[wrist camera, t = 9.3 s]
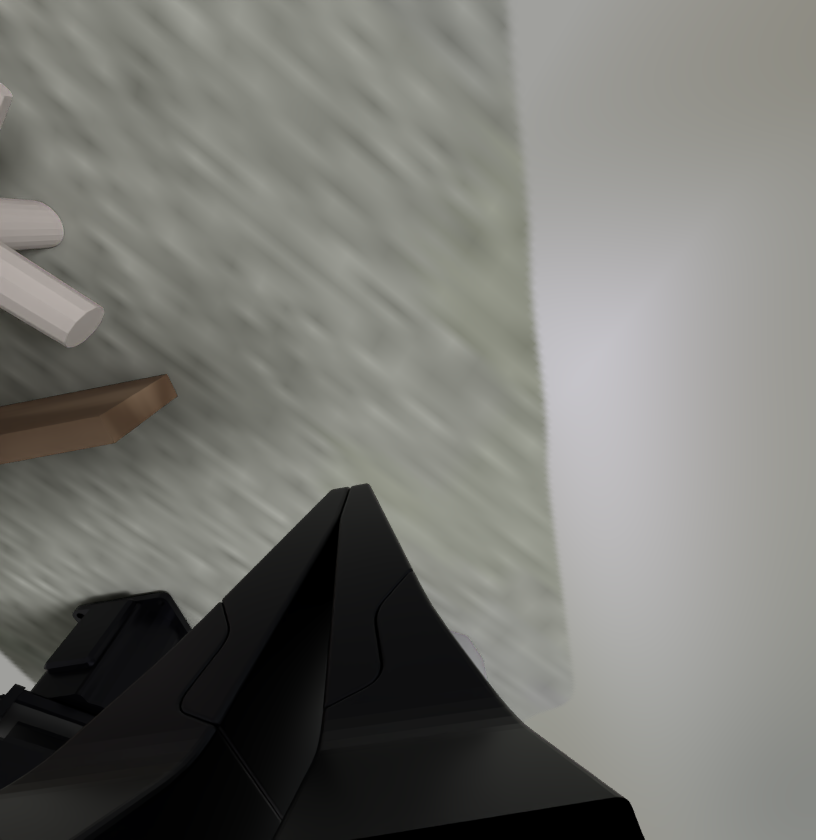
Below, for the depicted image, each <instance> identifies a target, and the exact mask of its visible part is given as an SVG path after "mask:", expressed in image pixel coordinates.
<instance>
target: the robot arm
mask: <svg viewBox="0 0 816 840" xmlns="http://www.w3.org/2000/svg"><path fill="white" fill-rule="evenodd" d="M222 602H223V603H222ZM222 602H219V603H218V604H217V605H216V606H215V607H214V608H213V609H212V610H211V611H210V612H209V613H208V614H207V615H206V616H205V617H204V618H203V619H202V620H201V621H200V622H199V623H198V624H197V625H196V626H195V627H194V628H193V629H191V627H190V626H189V624H188V623H187V621H186V619H185V618H184V616H183V615H182V613H181V612H180V610H179V608H178V607H177V605H176V604H175V602H174V600H173V599H172V597H171V596H170V595H169V594H167V593H164V592H160V593H154V594H148V595H142V596H136V597H130V598H124V599H118V600H112V601H106V602H100V603H93V604H87V605H81V606H78V608H77V609H76V610H75V611H74V612H73V617H74V618H75V620H76V621H77V622H78V624H77V625H76V626H75V628H74V629H73V630H72V631H71V633H70V634H69V635H68V636H67V637H66V639H65V640H64V641H63V642H62V644H61V645H60V646H59V647H58V649H57V650H56V651H55V652H54V653H53V655H52V656H51V657H50V658H49V660H48V661H47V662H46V664H45V666H44V669H45V670H46V672H45V674H44V675H43V676H42V677H41V679H40V680H39V681H38V682H37V684H36V685H35V686H34V688H33V689H32V690H31V691H27V690H24V689H25V687H23V686H20V685H17V684H15V685H14V686H13V687H12V688H11V689H10V690H9V692H8V693H7V694H6V695H5V694H3V695H0V840H645V838H644V836H643V834H642V832H641V829H640V826H639V824H638V821H637V819H636V816H635V813H634V811H633V808H632V806H631V804H630V802H629V801H628V800H627V799H625V798H624V797H623V796H621V795H620V794H619V793H617V792H616V791H615V790H613V789H612V788H610V787H609V786H608V785H606V784H605V783H604V782H602V781H601V780H600V779H598V778H597V777H596V776H594V775H593V774H591V773H590V772H589V771H587V770H586V769H585V768H583V767H582V766H580V765H579V764H578V763H576V762H575V761H574V760H572V759H571V758H570V757H568V756H567V755H566V754H564V753H563V752H561V751H560V750H559V749H557V748H556V747H555V746H553V745H552V744H551V743H549V742H548V741H547V740H545V739H544V738H543V737H541V736H540V735H538V734H537V733H536V732H534V731H533V730H532V729H530V728H529V727H528V726H527V725H525V724H524V723H523V722H522V721H521V720H520V719H519V718H518V717H517V716H516V715H515V714H514V713H513V712H512V711H511V710H510V708H509V707H508V706H507V705H506V704H505V703H504V701H503V700H502V699H501V698H500V697H499V695H498V694H497V693H496V692H495V690H494V689H493V688H492V687H491V685H490V684H489V683H488V681H487V680H486V679H485V677H484V676H483V675H482V673H481V672H480V671H479V669H478V668H477V667H476V665H475V664H474V662H473V661H472V660H471V658H470V657H469V656H468V654H467V653H466V652H465V650H464V649H463V648H462V646H461V645H460V644H459V642H458V641H457V640H456V638H455V637H454V636H453V634H452V633H451V632H450V630H449V629H448V628H447V626H446V625H445V623H444V622H443V620H442V619H441V617H440V616H439V615H438V613H437V612H436V610H435V609H434V607H433V606H432V604H431V602H430V601H429V599H428V597H427V595H426V593H425V592H424V590H423V588H422V586H421V585H420V583H419V581H418V579H417V577H416V575H415V573H414V572H413V569H412V567H411V565H410V563H409V561H408V559H407V557H406V555H405V553H404V551H403V549H402V547H401V545H400V543H399V541H398V539H397V537H396V536H395V534H394V532H393V530H392V528H391V526H390V524H389V522H388V520H387V518H386V516H385V514H384V512H383V510H382V508H381V506H380V504H379V502H378V500H377V498H376V496H375V494H374V492H373V490H372V488H371V486H370V485H369V484H368V483H366V484H361V485H355V486H352V487H351V488H349V487H343V488H338V489H333V490H331V491H330V492H329V493H328V494H327V495H326V496H325V497H324V498H323V499H322V500H321V501H320V502H319V503H318V504H317V505H316V506H315V507H314V508H313V509H312V510H311V511H310V512H309V513H308V514H307V515H306V516H305V517H304V518H303V519H302V520H301V521H300V522H299V523H298V524H297V525H296V526H295V527H294V528H293V529H292V530H291V531H290V532H289V533H288V534H287V535H286V536H285V537H284V538H283V539H282V540H281V541H280V542H279V543H278V544H277V545H276V546H275V547H274V548H273V549H272V550H271V551H270V552H269V553H268V554H267V555H266V556H265V557H264V558H263V559H262V560H261V561H260V562H259V563H258V564H257V565H256V566H255V567H254V568H253V569H252V570H251V571H250V572H249V573H248V574H247V575H246V576H245V577H244V578H243V579H242V580H241V581H240V582H239V583H238V584H237V585H236V586H235V587H234V588H233V589H232V590H231V591H230V592H229V593H228V594H227V595H226V596H225V597H224V598H223V600H222Z"/></svg>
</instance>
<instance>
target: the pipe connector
mask: <svg viewBox="0 0 816 840" xmlns="http://www.w3.org/2000/svg"><path fill="white" fill-rule="evenodd" d="M12 99H13V95H12V94H11V92H10V90H9V89H8V88H6V87H5V86H4V85H3V84H2V83H1V82H0V129H1V127H2V124H3V122H4V119H5V117H6V114H7V112H8V109H9V106H10V104H11V101H12ZM63 236H64V228H63V225H62V222H61V220H60V218H59V217H58V215H57V214H56V213H55V212H54V211H53V210H52V209H51V208H50V207H49V206H47V205H45V204H44V203H42V202H39V201H36V200H24V199H11V198H0V308H2V309H3V310H5V311H7V312H8V313H10V314H12V315H13V316H15V317H17V318H18V319H20V320H22V321H23V322H25V323H27V324H28V325H30V326H32V327H34V328H35V329H37V330H39V331H40V332H42V333H44V334H45V335H47V336H49V337H50V338H52V339H54V340H55V341H57V342H59V343H60V344H62V345H64V346H65V347H67V348H70V347H76V346H77V345H79V344H80V343H82V342H84V341H85V340H86V339H87V338H88V337H89V336H90V335H91V334H92V333H93V332H94V331H95V330H96V329H97V327H98V326H99V324H100V323H101V321H102V319H103V316H104V309H103V307H101V306H100V305H98V304H97V303H95V302H94V301H92V300H91V299H89V298H87V297H86V296H84V295H83V294H81V293H80V292H78V291H77V290H75V289H74V288H72V287H70V286H69V285H67V284H66V283H64V282H63V281H61V280H60V279H58V278H57V277H55V276H53V275H52V274H50V273H49V272H47V271H46V270H44V269H43V268H41V267H39V266H38V265H36V264H35V263H33V262H32V261H30V260H29V259H27V258H26V257H24V256H22V255H21V254H19V253H18V252H16V251H15V250H26V249H40V248H51V247H55V246H57V245H58V244H60V242H61V241H62V239H63Z"/></svg>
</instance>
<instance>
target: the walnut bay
mask: <svg viewBox="0 0 816 840" xmlns="http://www.w3.org/2000/svg"><path fill="white" fill-rule="evenodd" d="M176 397H177V394H176V392H175V390H174V388H173V386H172V383H171V381H170V379H169V377H168V375H167V374H165V375H160V376H155V377H149V378H144V379H139V380H134V381H129V382H124V383H119V384H114V385H108V386H103V387H98V388H93V389H88V390H83V391H78V392H73V393H67V394H62V395H57V396H52V397H47V398H42V399H37V400H32V401H26V402H21V403H16V404H11V405H6V406H1V407H0V464H5V463H11V462H16V461H21V460H27V459H32V458H37V457H43V456H48V455H53V454H59V453H64V452H69V451H75V450H80V449H85V448H91V447H96V446H102V445H107V444H112V443H116V442H117V441H118V440H120V439H121V438H122V437H124V436H125V435H126V434H128V433H129V432H130V431H132V430H133V429H134V428H136V427H137V426H138V425H140V424H141V423H142V422H144V421H145V420H146V419H148V418H149V417H150V416H152V415H153V414H154V413H156V412H157V411H158V410H160V409H161V408H162V407H164V406H165V405H166V404H168V403H169V402H170V401H172V400H173V399H174V398H176Z"/></svg>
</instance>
